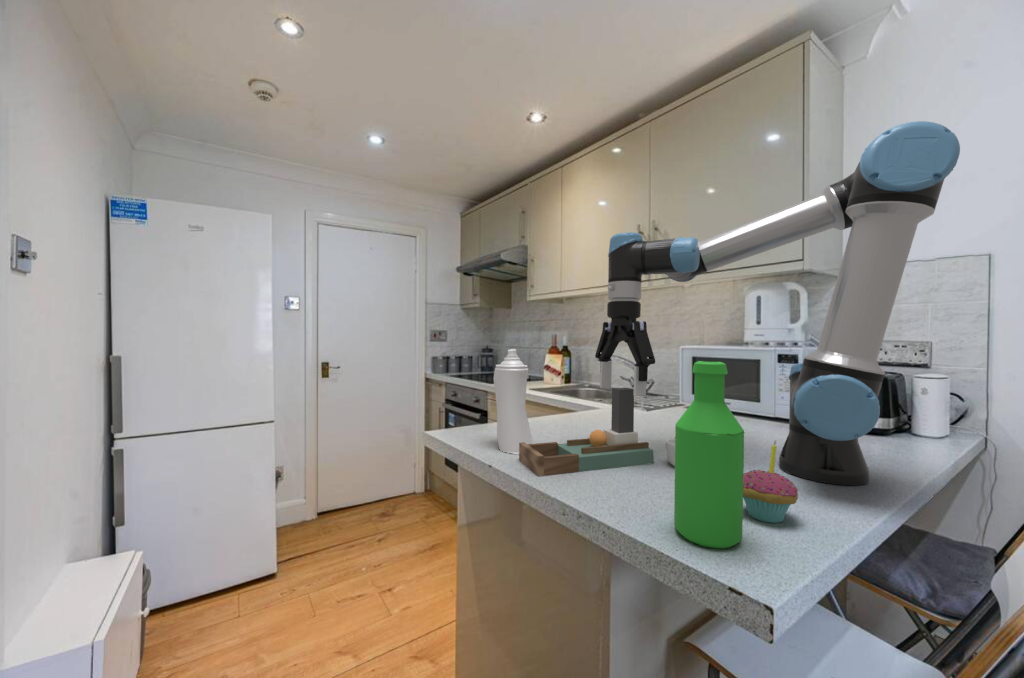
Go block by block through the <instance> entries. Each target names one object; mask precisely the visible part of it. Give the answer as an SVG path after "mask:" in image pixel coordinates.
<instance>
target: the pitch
mask: <svg viewBox="0 0 1024 678" xmlns="http://www.w3.org/2000/svg"><path fill="white" fill-rule="evenodd" d="M607 445H608V444H605V445H604V446H607ZM585 447H594V446H593V445H592V444H588V445H577V446H567V442H566V443H558V455H566V454H578V455H579V472H585V471H586V472H588V471H595V470H603V469H605V470H606V469H613V468H623V467H631V466H641V465H650V464H654V449H652V448H650V447H649V448H643V449H633V450H623V451H612V452H602V453H592V454H582V453H581V448H585Z"/></svg>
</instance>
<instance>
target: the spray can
mask: <svg viewBox="0 0 1024 678" xmlns="http://www.w3.org/2000/svg"><path fill="white" fill-rule="evenodd" d="M528 374H529V368H528V365H526V364H524V362H523V361H521V358H520V357H519V355H518V354H517V349H516V348H510V349H507V354H506V357H504V358H503V361H501V363H500V364H495V368H494V372H493V386H494V387H493V389H494V394H495V401H496V402H495V404H496V437H497V444H498V449H500V450H501V451H500V450H499V451H500V452H502V451H503V453H504V452H507V453H506V454H509V453H513V454H512V455H519V443H523V442H524V443H526V444H534V443H533V437H532V434H531V427H530V422H529V418H528V414H527V408H526V401H527V400H526V398H527V383H528Z"/></svg>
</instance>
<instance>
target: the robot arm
mask: <svg viewBox="0 0 1024 678" xmlns="http://www.w3.org/2000/svg"><path fill="white" fill-rule="evenodd" d="M960 154H961V144H960V141H959V139H958V137H957V135H956V134H955V132H953V131H952V130H950V129H949V128H948V127H947V126H945V125H942V124H941V123H937V122H934V121H933V122H932V121H921V120H920V121H910V122H909V121H908V122H905V123H901V124H898V125H896V126H894V127H891V128H889V129H887V130H885V131H883V132H882V133H880V134H879V135H878V136H876V137H875V138H874V139H873V140H872V141H871V142H870V143H869V144H868V146H867V147H866V148H865V149H864V151H863V152H862V154H861V156H860V159H859V162H858V164H857V166H856V168H855V170H854V172H853V173H851V174H850V175H848V176H846V177H845V178H843V179H842V180H839V181H837V182H835V183H832V184H830V185H828V186H825V188H824V189H823V191H822V192H821V193H820V194H818V195H815V196H813V197H810V198H807V199H804V200H803V201H800V202H797V203H795V204H791V205H789V206H787V207H784V208H782V209H779V210H777V211H774V212H771V213H768V214H767V215H766V214H765V215H763V216H761V217H759V218H756V219H753V220H751V221H748V222H746V223H744V224H741V225H737V226H736V227H731V228H730V229H727V230H725V231H723V232H720V233H717V234H715V235H712V236H710V237H708V238H705V239H702V240H700V241H699V240H698V239H697V238H696V237H693V236H692V237H690V236H689V237H683V236H679V237H677V238H676V237H675V238H667V239H659V240H647V241H646V240H644V238H643V236H642V234H641V233H639V232H620V233H616V234H614V235H612V236H611V238H610V239H609V248H608V254H607V257H608V280H607V281H608V283H607V284H608V285H607V299H608V300H609V301H608V302H607V307H606V308H607V310H606V311H607V313H606V315H607V318H609V319H611V321H604V322H603V323H602V330H601V335H600V338H599V341H598V345H597V348H596V350H595V351H596V352H595V355H594V356H595V359H598V361H600V364H599V366H600V368H599V369H600V370H599V371H600V379H599V380H600V382H599V383H600V384H599V388H600V389H612V372H613V371H612V370H613V369H612V366H613V363H612V356H613V355H614V353H615V350H616V349H617V348H618V347H617V346H618V345H619V343H621V342H625V343H626V345H627V346H628V348H629V351H630V353H631V355H632V357H633V359H634V362H635V364H634V366H633V389H634V394H633V396H634V397H646V396H647V382H648V373H649V372H648V371H649V370H648V369H649V367H650V366H651V365H655V364H656V357H655V353H654V352H653V348H652V345H651V340H650V337H649V335H648V331H647V330H648V328H647V322H646V321H645V320H644V321H643V320H641V321H640V320H637V319H639V318H640V317H641V306H642V304H641V303H640V300H642V276H643V275H646V276H647V275H648V276H649V275H662V274H663V275H666V276H667V277H668V278H669V279H671V280H672V281H676V282H677V283H685V282H687V283H688V282H690V281H692V280H693V279H695V278H696V277H697V276H699V275H702V274H704V273H708V272H709V271H712V270H715V269H716V270H717V269H718V268H721V267H724V266H727V265H730V264H732V263H735V262H738V261H742V260H744V259H748V258H751V257H753V256H755V255H759V254H762V253H764V252H768V251H770V250H773V249H776V248H779V247H782V246H785V245H787V244H791V243H794V242H796V241H800V240H802V239H806V238H808V237H810V236H811V237H812V236H814V235H817V234H820V233H823V232H825V231H827V230H828V231H829V230H831V229H835V230H840V231H844V230H846V229H849V228H850V231H849V235H848V238H847V242H846V245H845V248H844V253H843V255H842V261H841V262H840V263H841V264H840V267H839V269H838V274H837V276H836V281H835V283H834V289H833V291H832V296H831V299H830V302H829V306H828V310H827V313H826V316H825V321H824V324H823V328H822V331H821V334H820V337H819V342H818V345H817V349H815V350H814V351H812V352H811V353H809V354H807V355H805V356H804V359H803V362H802V363H801V362H800V363H795V364H793V365H792V366H791V367H790V373H789V375H788V378H789V379H788V380H789V415H788V416H789V417H788V418H789V419H788V420H789V421H788V423H789V425H788V427H789V428H788V429H789V431H788V435H787V437H786V440H785V442H784V444H783V447H782V450H781V451H780V454H779V457H778V461H779V462H778V467H779V468H780V469H781V470H782V471H784V472H785V473H788V474H790V475H793V476H795V477H798V478H802V479H805V480H811V481H814V482H818V483H819V482H820V483H825V484H832V485H840V486H842V485H843V486H860V485H861V486H862V485H866V484H868V483H869V481H870V470H869V467H868V465H867V461H866V459H865V457H864V454H863V450H862V449H861V446H860V444H859V438H861V437H863V436H865V435H866V434H868V433H870V432H871V431H872V429H874V428H875V427H876V425H877V423H878V421H879V419H880V415H881V413H880V412H881V406H880V400H879V395H880V392H881V389H882V384H883V381H884V379H885V374H886V372H885V370H884V369H883V368H882V367H881V366H880V365H879V363H878V357H879V355H880V351H881V348H882V344H883V341H884V339H885V334H886V332H887V328H888V325H889V320H890V318H891V316H892V315H891V314H892V311H893V307H894V304H895V302H896V298H897V294H898V291H899V288H900V285H901V283H902V282H901V281H902V279H903V274H904V271H905V268H906V265H907V262H908V257H909V255H910V252H911V248H912V245H913V241H914V237H915V235H916V231H917V228H918V225H919V224H920V223H921V222H922V221H924V220H926V219H927V218H930V217H931V216H933V215H934V214H935V211H936V207H937V205H938V201H939V198H940V194H941V192H942V188H943V184H944V181H945V179H946V178H947V177H948V176H949V175H950V174H951V173H952V172H953V170H954V168H955V167H956V165H957V163H958V160H959V157H960Z"/></svg>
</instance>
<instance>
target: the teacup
mask: <svg viewBox="0 0 1024 678" xmlns="http://www.w3.org/2000/svg"><path fill="white" fill-rule="evenodd" d="M665 448H666V449H665V450H666V451H665V452H666V456H667V457H666V458H667V460H668V462H669V464H670V465H672V466H673V467H674V468H675V437H671V438H666V439H665Z"/></svg>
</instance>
